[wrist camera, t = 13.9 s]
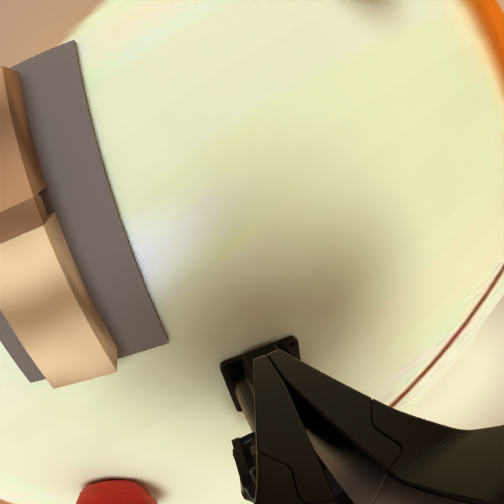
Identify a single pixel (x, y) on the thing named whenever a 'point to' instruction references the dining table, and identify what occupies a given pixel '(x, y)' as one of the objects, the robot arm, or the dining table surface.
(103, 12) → the dining table surface
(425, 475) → the robot arm
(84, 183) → the underlay mat
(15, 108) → the wooden block
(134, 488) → the pomegranate
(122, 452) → the dining table surface
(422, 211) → the dining table surface
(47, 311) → the birch plank
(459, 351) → the dining table surface
